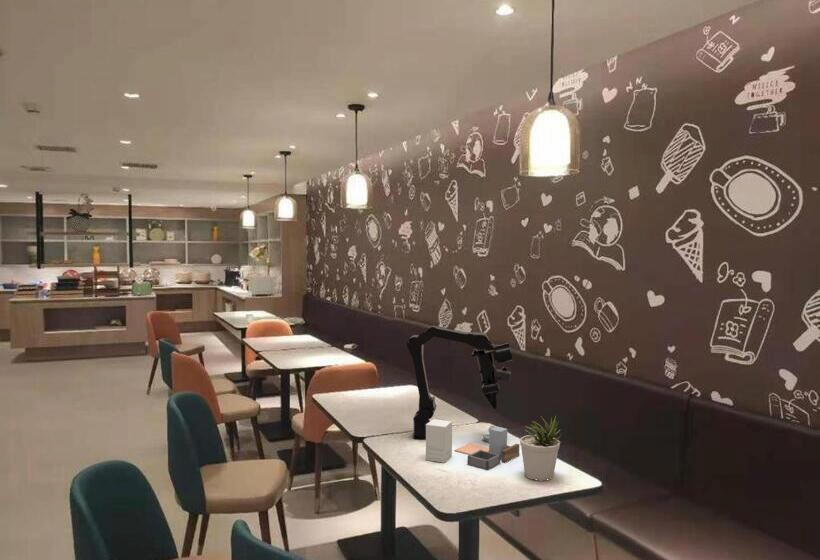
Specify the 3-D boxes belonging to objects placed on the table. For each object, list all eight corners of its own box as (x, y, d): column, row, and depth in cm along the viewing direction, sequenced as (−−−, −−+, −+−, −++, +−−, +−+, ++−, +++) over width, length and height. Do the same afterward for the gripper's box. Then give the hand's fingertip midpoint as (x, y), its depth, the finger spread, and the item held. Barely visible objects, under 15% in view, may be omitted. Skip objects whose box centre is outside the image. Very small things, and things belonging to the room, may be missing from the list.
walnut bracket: (482, 456, 207) (482, 445, 206) (497, 449, 214) (497, 438, 214) (505, 462, 201) (505, 451, 201) (519, 455, 209) (519, 444, 209)
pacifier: (478, 439, 227) (485, 443, 221) (478, 423, 227) (485, 427, 221) (496, 437, 229) (503, 442, 223) (496, 421, 229) (503, 425, 223)
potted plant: (536, 487, 180) (538, 423, 179) (511, 472, 193) (512, 411, 192) (569, 481, 185) (571, 419, 184) (543, 466, 198) (544, 408, 197)
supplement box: (452, 456, 207) (453, 421, 206) (444, 463, 200) (445, 426, 199) (433, 453, 210) (433, 418, 209) (424, 460, 203) (425, 423, 202)
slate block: (488, 457, 207) (489, 429, 206) (495, 453, 210) (496, 426, 210) (500, 460, 204) (500, 431, 203) (506, 456, 207) (507, 428, 207)
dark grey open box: (467, 464, 199) (467, 455, 199) (480, 458, 205) (480, 449, 205) (487, 470, 194) (487, 461, 194) (500, 463, 200) (500, 454, 200)
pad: (454, 451, 212) (454, 449, 212) (469, 444, 220) (469, 442, 220) (478, 457, 206) (478, 456, 206) (492, 450, 214) (492, 448, 214)
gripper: (508, 366, 213) (517, 408, 213) (506, 357, 232) (515, 395, 232) (477, 371, 215) (487, 413, 215) (478, 362, 233) (487, 400, 233)
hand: (495, 405), depth 224 cm, fingers open, 9 cm apart
